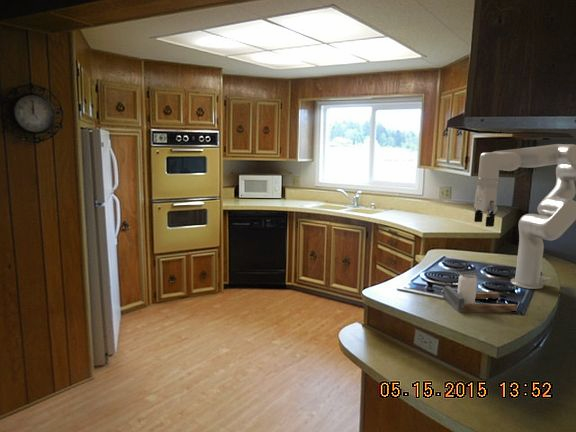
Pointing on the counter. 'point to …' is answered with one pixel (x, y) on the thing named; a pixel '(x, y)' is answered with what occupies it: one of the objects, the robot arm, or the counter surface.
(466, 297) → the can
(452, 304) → the guide track
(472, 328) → the counter surface
